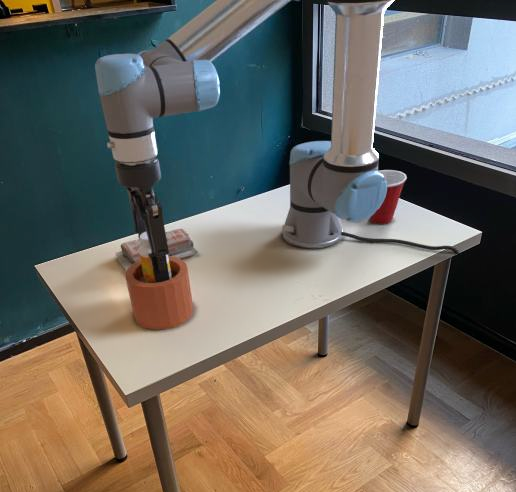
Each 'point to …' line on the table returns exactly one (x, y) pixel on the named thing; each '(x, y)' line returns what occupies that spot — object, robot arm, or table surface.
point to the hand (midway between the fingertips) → (157, 276)
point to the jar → (160, 297)
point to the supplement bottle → (148, 260)
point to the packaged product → (176, 242)
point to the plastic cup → (389, 196)
